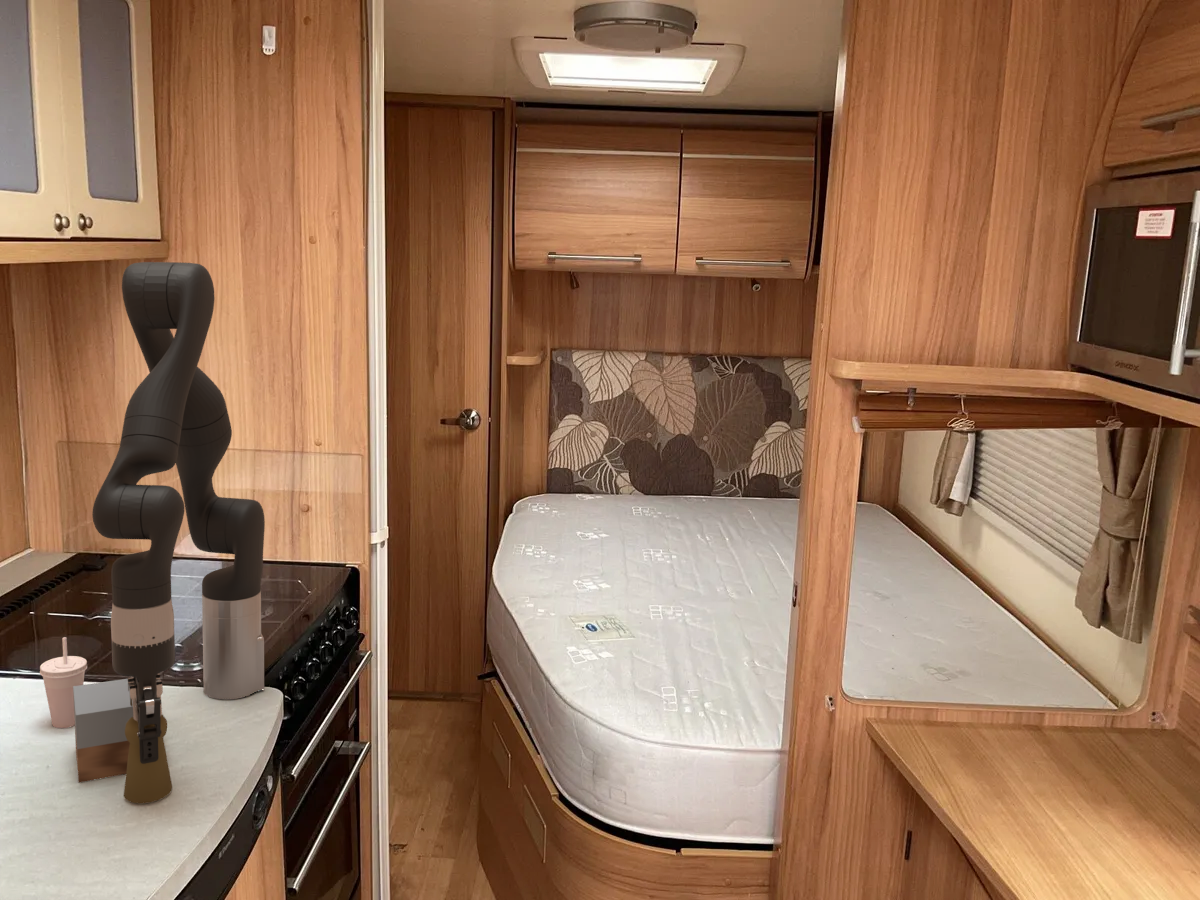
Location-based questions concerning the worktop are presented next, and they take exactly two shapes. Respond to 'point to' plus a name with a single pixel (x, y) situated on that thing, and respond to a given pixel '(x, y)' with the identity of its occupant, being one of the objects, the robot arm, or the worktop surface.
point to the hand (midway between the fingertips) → (146, 751)
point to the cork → (146, 768)
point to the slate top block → (101, 713)
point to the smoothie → (62, 685)
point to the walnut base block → (102, 760)
